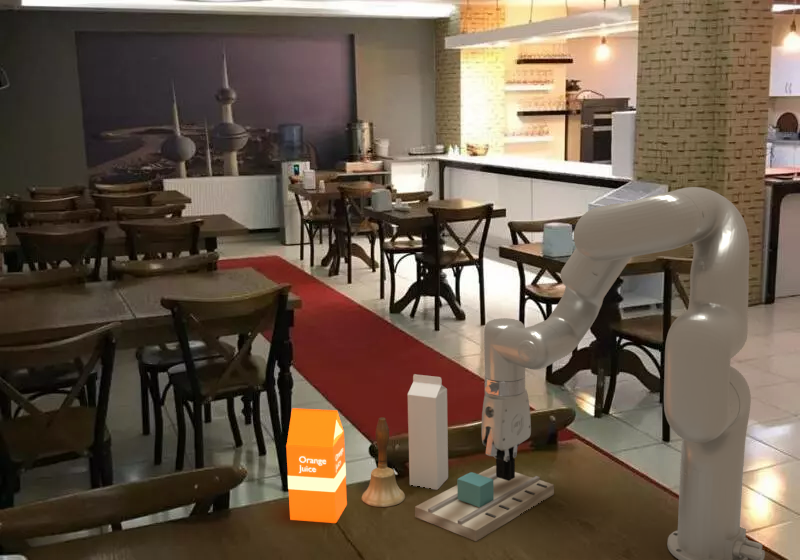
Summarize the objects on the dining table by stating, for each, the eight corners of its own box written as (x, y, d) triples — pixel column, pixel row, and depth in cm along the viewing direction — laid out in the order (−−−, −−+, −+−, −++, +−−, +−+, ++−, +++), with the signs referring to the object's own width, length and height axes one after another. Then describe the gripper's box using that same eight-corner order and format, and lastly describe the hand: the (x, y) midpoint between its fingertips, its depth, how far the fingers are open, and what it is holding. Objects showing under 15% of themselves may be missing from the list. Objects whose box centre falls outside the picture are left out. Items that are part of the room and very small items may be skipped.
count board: (553, 494, 163) (553, 481, 162) (476, 541, 145) (475, 527, 145) (494, 474, 172) (494, 462, 172) (415, 516, 155) (414, 503, 154)
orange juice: (336, 523, 153) (331, 417, 149) (289, 520, 155) (283, 415, 151) (347, 504, 161) (343, 403, 157) (302, 501, 163) (297, 401, 159)
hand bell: (376, 485, 169) (374, 408, 166) (413, 493, 164) (411, 415, 161) (353, 501, 162) (350, 422, 159) (390, 511, 157) (388, 429, 154)
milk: (421, 474, 173) (418, 369, 169) (448, 478, 171) (447, 372, 167) (409, 485, 168) (406, 378, 164) (437, 490, 166) (435, 381, 162)
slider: (493, 499, 156) (493, 479, 155) (480, 507, 153) (479, 486, 152) (471, 492, 159) (471, 471, 158) (457, 499, 156) (457, 478, 156)
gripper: (497, 399, 151) (498, 496, 154) (544, 379, 162) (544, 470, 165) (464, 391, 156) (465, 485, 159) (511, 372, 167) (512, 460, 170)
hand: (505, 477), depth 162 cm, fingers closed
